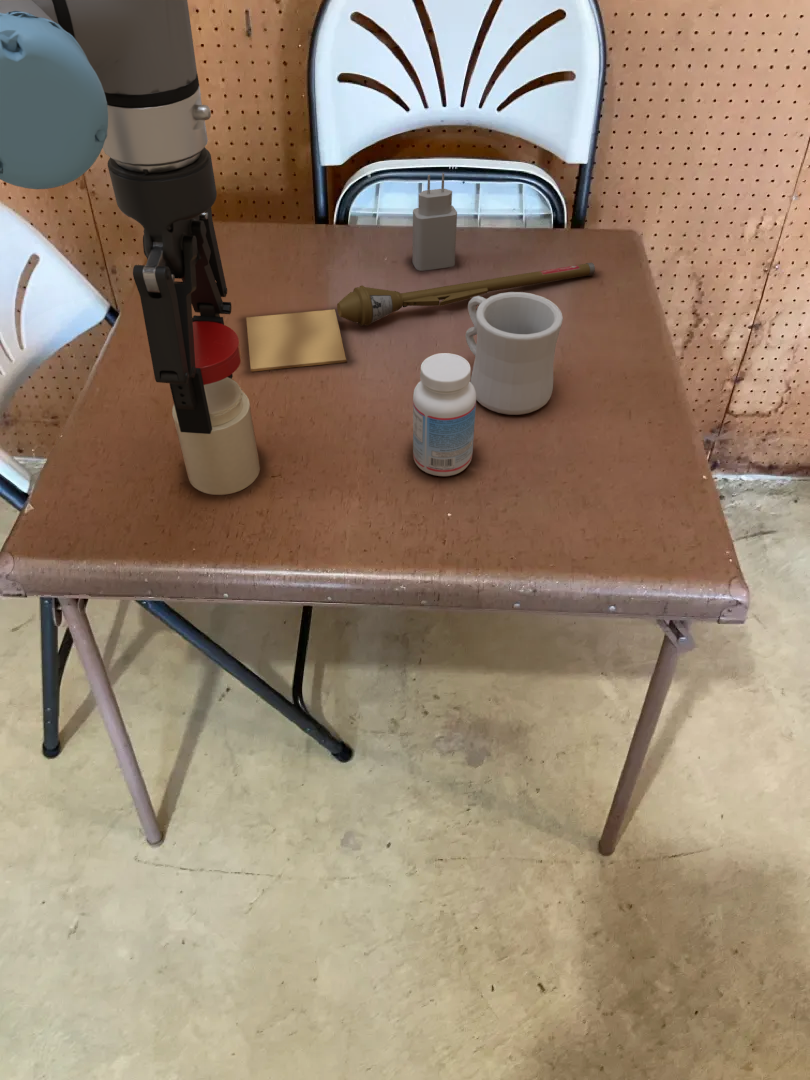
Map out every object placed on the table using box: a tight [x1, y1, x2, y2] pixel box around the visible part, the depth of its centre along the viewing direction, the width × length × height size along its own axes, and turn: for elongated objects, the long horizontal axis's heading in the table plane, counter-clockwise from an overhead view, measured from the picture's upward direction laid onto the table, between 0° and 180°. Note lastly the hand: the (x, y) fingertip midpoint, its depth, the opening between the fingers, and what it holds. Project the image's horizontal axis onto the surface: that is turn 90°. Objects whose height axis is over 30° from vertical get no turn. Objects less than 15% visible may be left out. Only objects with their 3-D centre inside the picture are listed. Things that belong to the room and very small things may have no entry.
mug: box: [464, 291, 564, 416], centre depth 91 cm, size 12×9×10 cm
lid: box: [193, 321, 242, 385], centre depth 74 cm, size 8×7×2 cm
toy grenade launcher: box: [336, 262, 596, 327], centre depth 106 cm, size 5×35×5 cm
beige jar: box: [171, 377, 261, 496], centre depth 81 cm, size 7×7×10 cm
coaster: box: [245, 308, 347, 373], centre depth 100 cm, size 11×11×1 cm
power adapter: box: [411, 172, 458, 272], centre depth 109 cm, size 3×5×12 cm, turn 105°
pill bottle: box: [412, 352, 477, 477], centre depth 82 cm, size 6×6×11 cm
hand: (207, 402), depth 78 cm, fingers closed on lid, 7 cm apart
